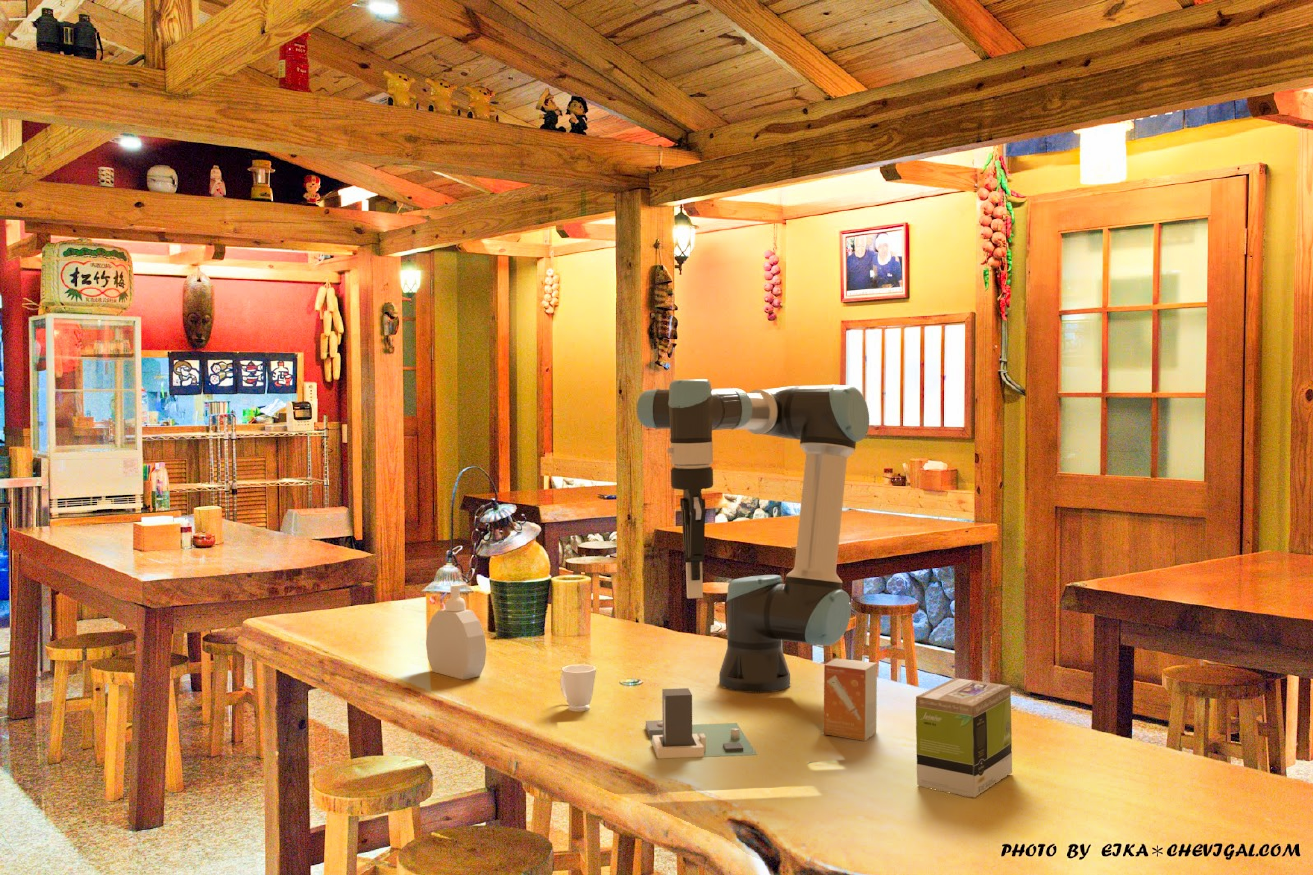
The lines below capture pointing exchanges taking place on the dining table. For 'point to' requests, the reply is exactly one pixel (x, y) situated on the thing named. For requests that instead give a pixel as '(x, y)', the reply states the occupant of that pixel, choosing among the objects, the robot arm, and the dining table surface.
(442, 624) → the soap bottle
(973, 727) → the tea box
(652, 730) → the grey push button
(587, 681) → the cup
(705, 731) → the board
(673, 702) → the plug
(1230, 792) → the dining table surface
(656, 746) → the frame
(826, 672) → the small box
